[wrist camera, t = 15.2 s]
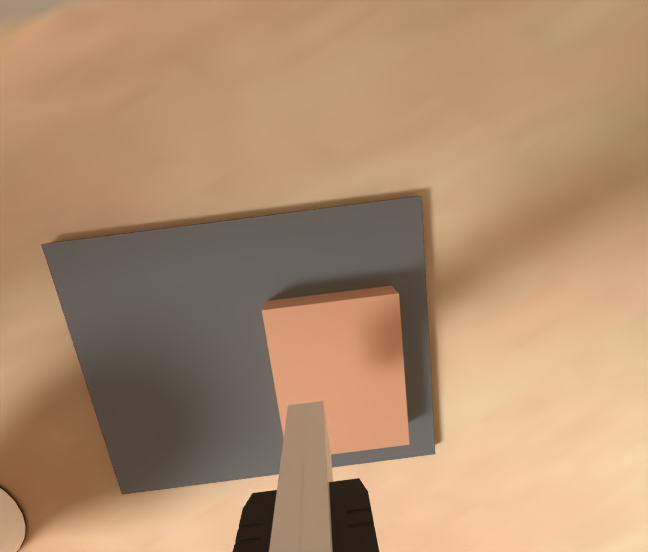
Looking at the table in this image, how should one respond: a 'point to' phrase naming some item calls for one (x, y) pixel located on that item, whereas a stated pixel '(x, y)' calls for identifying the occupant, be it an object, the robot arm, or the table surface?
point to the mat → (227, 333)
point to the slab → (342, 364)
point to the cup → (10, 524)
